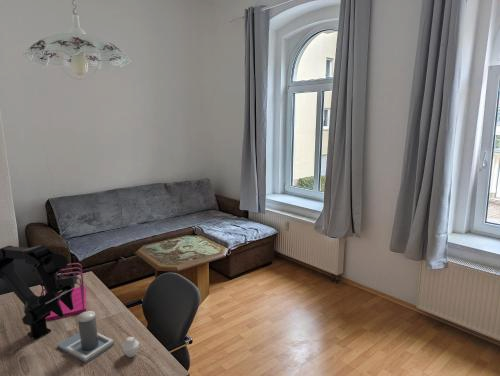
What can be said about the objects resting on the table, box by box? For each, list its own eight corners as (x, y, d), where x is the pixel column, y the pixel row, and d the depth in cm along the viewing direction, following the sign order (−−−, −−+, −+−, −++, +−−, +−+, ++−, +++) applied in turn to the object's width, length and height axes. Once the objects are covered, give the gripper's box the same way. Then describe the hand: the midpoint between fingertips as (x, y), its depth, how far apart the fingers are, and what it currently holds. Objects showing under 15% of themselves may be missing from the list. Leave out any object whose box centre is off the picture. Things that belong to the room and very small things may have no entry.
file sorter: (85, 288, 183) (82, 260, 180) (86, 312, 161) (82, 280, 158) (47, 296, 176) (43, 267, 173) (42, 322, 154) (37, 289, 150)
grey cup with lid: (79, 345, 135) (75, 314, 133) (95, 339, 139) (92, 309, 137) (83, 353, 131) (80, 321, 128) (100, 346, 135) (97, 315, 132)
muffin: (135, 346, 136) (134, 330, 134) (142, 354, 131) (141, 337, 130) (119, 354, 132) (118, 337, 130) (126, 362, 127) (125, 345, 126)
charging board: (57, 347, 136) (56, 342, 136) (85, 330, 146) (85, 326, 146) (86, 363, 127) (85, 358, 127) (114, 344, 137) (113, 340, 137)
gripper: (57, 270, 128) (77, 309, 128) (77, 263, 146) (95, 296, 146) (28, 286, 126) (48, 324, 126) (52, 276, 145) (70, 310, 145)
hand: (67, 312), depth 136 cm, fingers open, 9 cm apart
